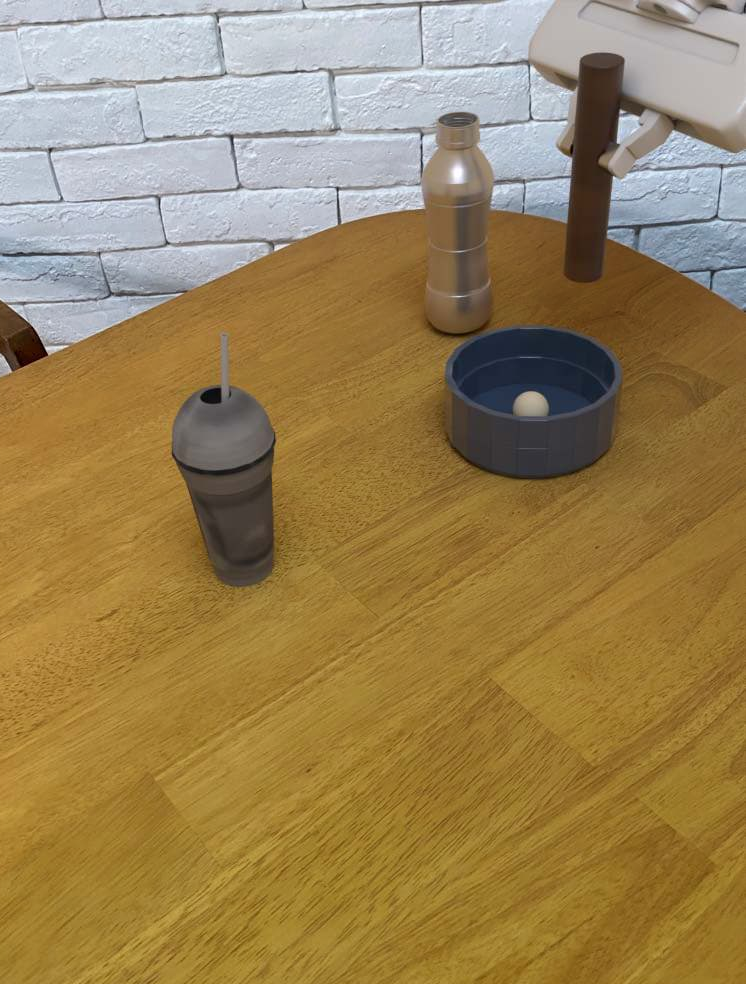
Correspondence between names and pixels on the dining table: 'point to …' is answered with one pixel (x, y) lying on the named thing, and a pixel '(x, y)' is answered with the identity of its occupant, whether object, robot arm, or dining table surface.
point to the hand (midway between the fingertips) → (586, 162)
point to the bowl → (539, 368)
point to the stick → (592, 165)
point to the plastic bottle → (458, 226)
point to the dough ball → (531, 405)
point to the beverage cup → (229, 476)
